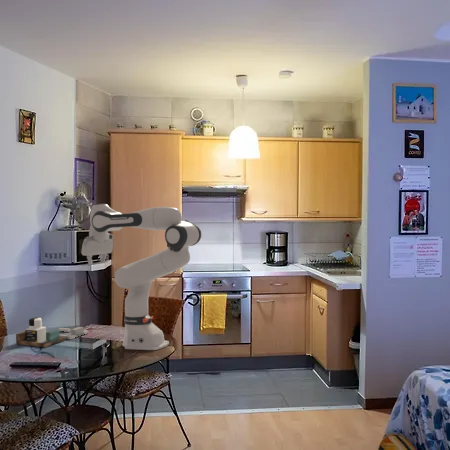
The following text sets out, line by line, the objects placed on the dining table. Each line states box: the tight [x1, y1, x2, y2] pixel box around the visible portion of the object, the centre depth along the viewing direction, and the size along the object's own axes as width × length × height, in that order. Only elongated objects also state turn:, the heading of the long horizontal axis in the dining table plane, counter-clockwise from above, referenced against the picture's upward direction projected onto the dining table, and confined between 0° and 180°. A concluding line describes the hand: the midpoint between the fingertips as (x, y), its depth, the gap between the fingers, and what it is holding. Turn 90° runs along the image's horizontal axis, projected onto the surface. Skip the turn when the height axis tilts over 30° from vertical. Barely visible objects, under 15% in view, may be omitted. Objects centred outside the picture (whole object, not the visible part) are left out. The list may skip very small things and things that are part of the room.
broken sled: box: [58, 326, 89, 340], centre depth 249 cm, size 19×14×4 cm
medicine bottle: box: [24, 317, 47, 343], centre depth 236 cm, size 7×7×12 cm
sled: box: [15, 329, 66, 348], centre depth 235 cm, size 18×14×6 cm
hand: (96, 263), depth 237 cm, fingers open, 8 cm apart
